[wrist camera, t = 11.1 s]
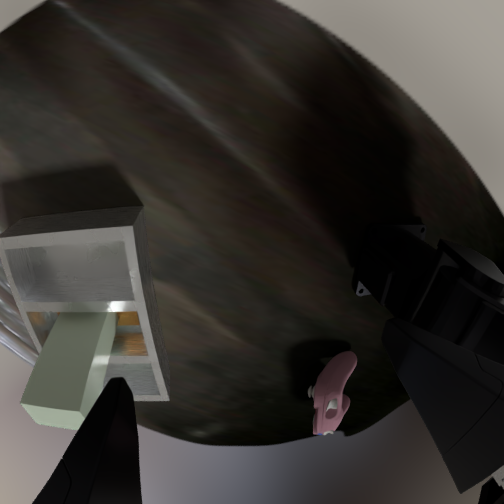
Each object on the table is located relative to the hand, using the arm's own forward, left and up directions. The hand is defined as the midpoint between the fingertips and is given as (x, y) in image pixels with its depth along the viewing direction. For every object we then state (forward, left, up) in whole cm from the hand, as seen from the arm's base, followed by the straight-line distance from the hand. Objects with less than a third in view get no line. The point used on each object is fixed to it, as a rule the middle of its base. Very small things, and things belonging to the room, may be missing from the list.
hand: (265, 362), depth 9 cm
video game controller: (-11, +19, -13) cm, 25 cm away
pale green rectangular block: (+10, +6, -11) cm, 16 cm away
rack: (+10, +6, -12) cm, 17 cm away
